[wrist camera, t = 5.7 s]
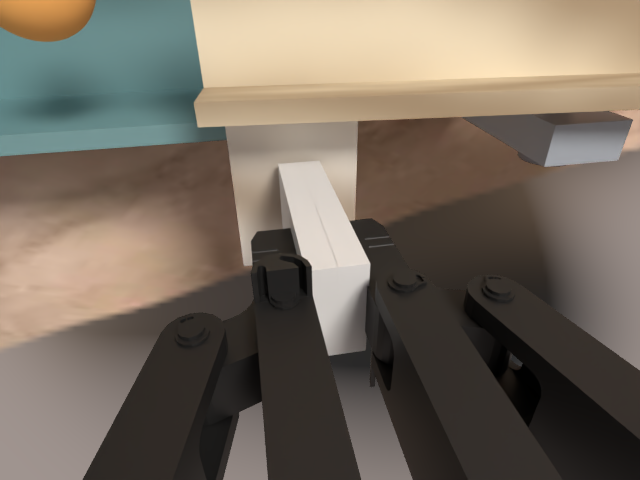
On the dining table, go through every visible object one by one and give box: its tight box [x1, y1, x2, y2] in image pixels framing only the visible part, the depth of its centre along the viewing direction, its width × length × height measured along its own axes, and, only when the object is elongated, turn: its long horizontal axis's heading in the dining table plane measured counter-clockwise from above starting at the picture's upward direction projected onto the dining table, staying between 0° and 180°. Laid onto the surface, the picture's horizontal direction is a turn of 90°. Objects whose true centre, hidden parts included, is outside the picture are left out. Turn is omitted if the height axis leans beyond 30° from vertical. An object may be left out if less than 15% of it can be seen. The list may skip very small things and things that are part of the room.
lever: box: [190, 0, 640, 266], centre depth 14 cm, size 14×27×4 cm, turn 91°
